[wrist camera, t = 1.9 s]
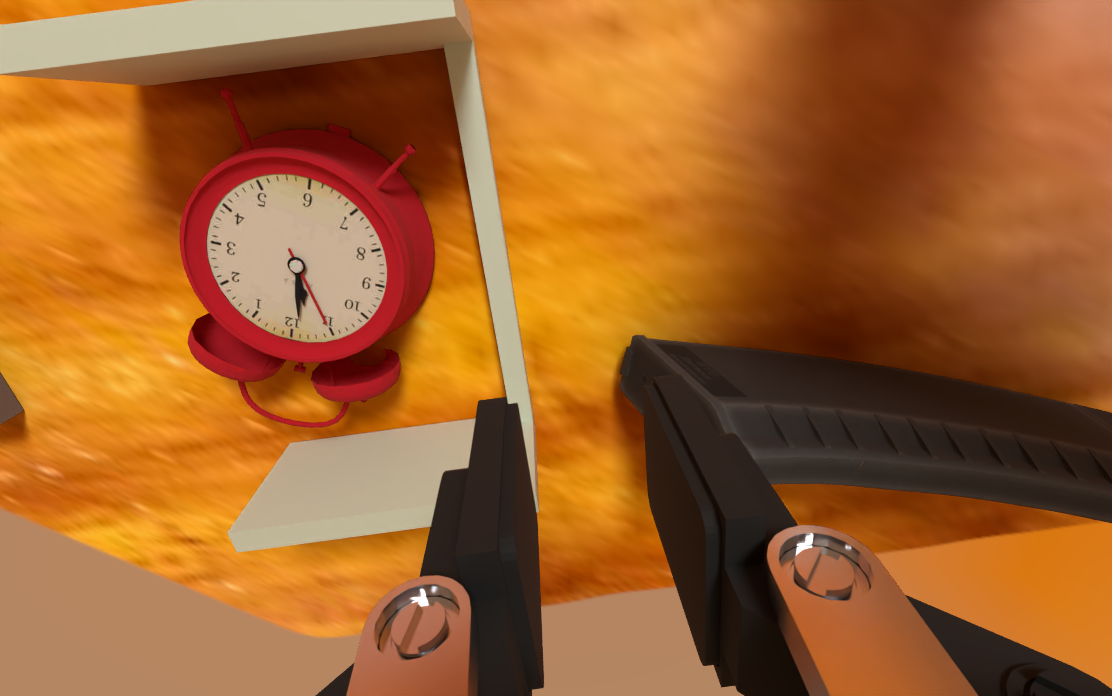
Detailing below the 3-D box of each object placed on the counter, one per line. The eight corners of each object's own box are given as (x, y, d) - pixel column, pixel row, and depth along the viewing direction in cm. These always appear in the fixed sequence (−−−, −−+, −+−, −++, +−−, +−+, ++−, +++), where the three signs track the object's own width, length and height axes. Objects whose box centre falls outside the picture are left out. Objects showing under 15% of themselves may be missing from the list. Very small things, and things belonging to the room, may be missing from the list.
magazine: (591, 471, 21) (1493, 742, 17) (610, 402, 20) (1591, 677, 15) (631, 332, 36) (1103, 455, 32) (643, 289, 35) (1135, 410, 31)
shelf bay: (135, 53, 22) (-28, 28, 15) (469, 11, 22) (447, -32, 15) (297, 459, 30) (237, 552, 24) (535, 428, 30) (538, 512, 24)
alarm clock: (450, 146, 21) (373, 488, 23) (459, 168, 27) (397, 436, 29) (166, 60, 19) (115, 440, 21) (246, 104, 25) (199, 396, 27)
